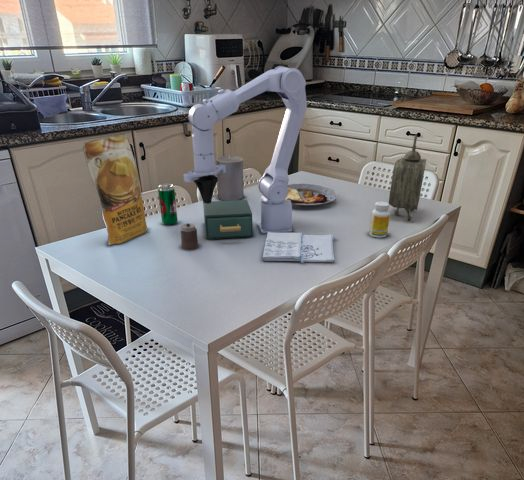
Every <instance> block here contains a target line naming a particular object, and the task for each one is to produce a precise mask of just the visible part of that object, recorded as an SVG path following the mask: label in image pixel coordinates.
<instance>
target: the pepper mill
mask: <svg viewBox="0 0 524 480" xmlns="http://www.w3.org/2000/svg"><path fill="white" fill-rule="evenodd" d="M197 229H198V228H197V227H196V224H194V223H183V224H181V226H180V230H179V232H180V239H181V240H180V241H181V248H182V249H183V250H187V251H188V250H189V251H191V250H195V249H198V247H199V242H198V231H197Z"/></svg>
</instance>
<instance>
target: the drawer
mask: <svg viewBox="0 0 524 480" xmlns="http://www.w3.org/2000/svg"><path fill="white" fill-rule="evenodd" d="M207 223H208V237H209V238H211V237H229V236H248V235H251V217H250V216H230V217H210V218H207Z"/></svg>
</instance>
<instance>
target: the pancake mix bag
mask: <svg viewBox="0 0 524 480" xmlns="http://www.w3.org/2000/svg"><path fill="white" fill-rule="evenodd" d="M82 151H83V155H84V159H85V162H86V166H87V168H88V171H89V173H90V174H89V175H90V177H91V182H92V185H93V188H94V190H95V192H96V193H95V194H96V195H97V197H98V199H99V203H100V208H101V211H102V217H103V220H104V222H105V225H106V230H107V234H108V235H107V243H108V244H107V245H108V246H113V245H121V244H124V243H126V242H128V241H131V240H133V239H135V238H137V237H140V236H142V235H144V234H146V233H147V229H148V225H147V221H146V214H145V213H146V212H145V206H144V201H143V200H144V199H143V195H142V186H141V181H140V177H139V171H138V167H137V163H136V160H135V157H134V153H133V150H132V146H131V143H130V140H129V137H128V135H126V133H119V134H115V135H111V136H106V137H105V136H104V137H100V138H97V139H93V140H90V141H86V142H84V144H83V146H82Z"/></svg>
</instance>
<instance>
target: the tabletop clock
mask: <svg viewBox="0 0 524 480" xmlns="http://www.w3.org/2000/svg"><path fill="white" fill-rule="evenodd" d="M417 140H418V135H417V134H415V135H414V138H413V142H412V147H411V150H410V151H409V150H408V151H407V152H406V153H405V154H404V156H403V157H400V158H399V159H396V160H395V163H394V165H393V171H392V174H391V175H392V177H391V182H390V188H389V189H390V190H389V197H388V203H389V206H391V207H392V208H395V209H396V210H394V211H393V214H394V215H395V216H399V213H400V211H399V209H404V210H405V213H406V214H407V217H406V221H407V222H412V221H413V217H412V216H410V212H414V211H415V210H416V211H417V210H418V208H419V207H418V206H419V203H420V198H421V192H422V185H423V181H424V176H425V169H426V165H427V159H426V158H422V157H421V153H420V152H419V151H417V150H416V149H417Z"/></svg>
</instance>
